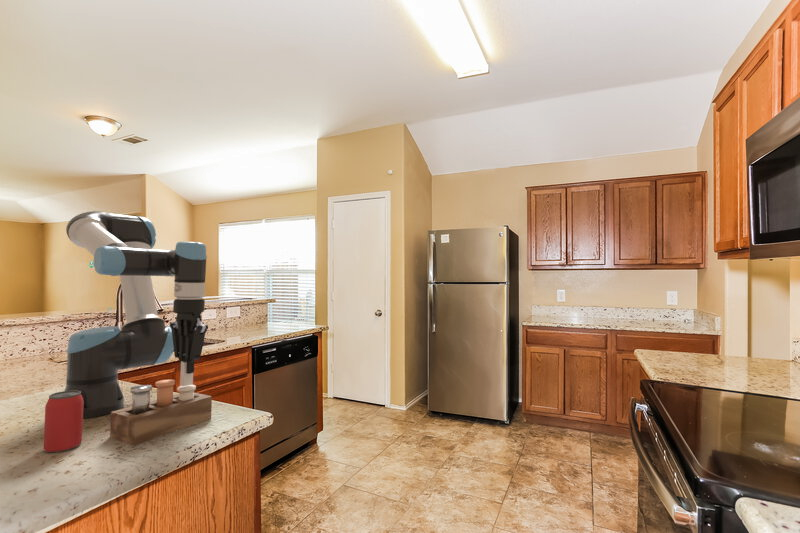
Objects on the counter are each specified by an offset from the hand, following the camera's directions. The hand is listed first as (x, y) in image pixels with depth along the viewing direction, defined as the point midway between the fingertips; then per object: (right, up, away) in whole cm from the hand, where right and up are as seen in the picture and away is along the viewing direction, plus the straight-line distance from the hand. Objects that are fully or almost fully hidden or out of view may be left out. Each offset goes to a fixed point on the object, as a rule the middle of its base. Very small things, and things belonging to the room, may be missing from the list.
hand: (186, 384), depth 106 cm
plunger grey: (-5, -4, -11) cm, 13 cm away
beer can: (-18, -9, -18) cm, 27 cm away
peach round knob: (-3, -4, -6) cm, 8 cm away
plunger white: (0, -7, 0) cm, 7 cm away
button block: (-3, -9, -6) cm, 11 cm away
